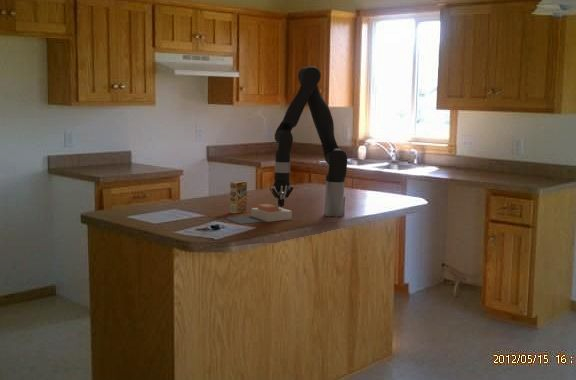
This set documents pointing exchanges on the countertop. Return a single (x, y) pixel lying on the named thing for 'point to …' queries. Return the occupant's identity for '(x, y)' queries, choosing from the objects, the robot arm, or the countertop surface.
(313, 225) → the countertop surface
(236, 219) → the mat
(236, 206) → the candy box
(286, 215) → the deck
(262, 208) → the block
